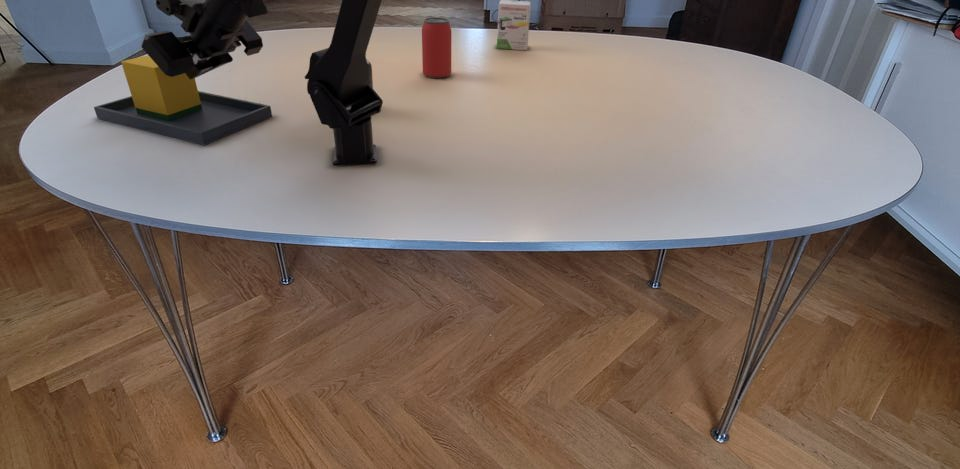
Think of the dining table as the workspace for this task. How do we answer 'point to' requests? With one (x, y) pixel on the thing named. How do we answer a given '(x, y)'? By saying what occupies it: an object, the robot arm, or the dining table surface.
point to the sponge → (160, 90)
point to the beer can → (436, 47)
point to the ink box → (513, 24)
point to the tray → (191, 118)
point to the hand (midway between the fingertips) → (189, 76)
